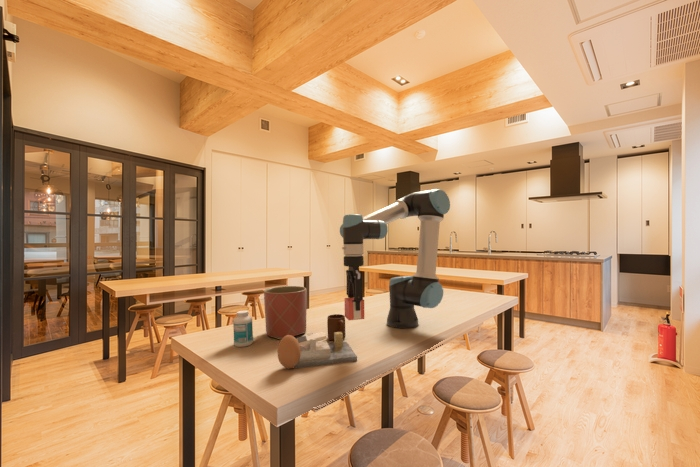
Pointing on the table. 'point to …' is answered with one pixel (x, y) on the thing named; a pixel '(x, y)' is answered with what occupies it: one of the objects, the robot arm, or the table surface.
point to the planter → (285, 311)
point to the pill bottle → (243, 329)
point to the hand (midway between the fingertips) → (354, 316)
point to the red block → (350, 308)
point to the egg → (289, 351)
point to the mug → (335, 325)
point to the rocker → (306, 339)
